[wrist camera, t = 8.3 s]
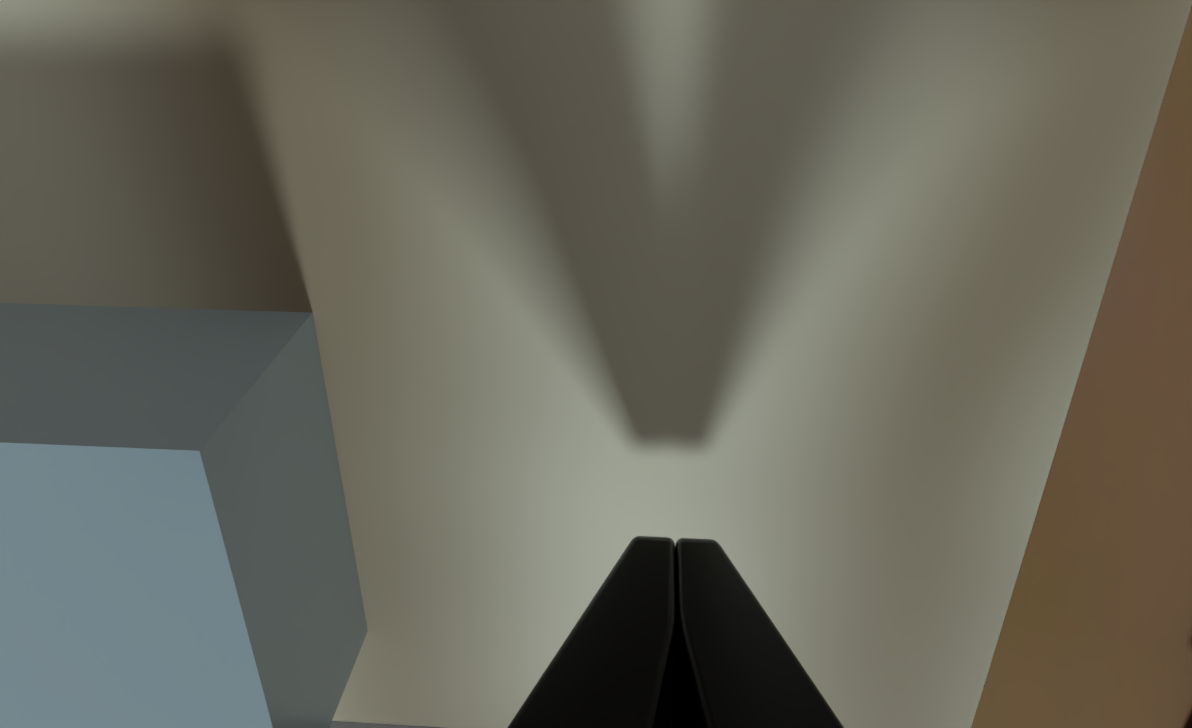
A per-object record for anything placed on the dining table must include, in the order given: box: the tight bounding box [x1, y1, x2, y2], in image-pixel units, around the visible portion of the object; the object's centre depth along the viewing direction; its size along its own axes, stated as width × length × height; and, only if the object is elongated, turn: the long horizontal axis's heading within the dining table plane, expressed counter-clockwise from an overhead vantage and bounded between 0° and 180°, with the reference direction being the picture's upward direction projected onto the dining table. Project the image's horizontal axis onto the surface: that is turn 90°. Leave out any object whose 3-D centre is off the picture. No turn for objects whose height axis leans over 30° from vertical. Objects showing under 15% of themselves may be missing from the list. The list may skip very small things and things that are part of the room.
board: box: [0, 0, 1192, 728], centre depth 9 cm, size 14×15×2 cm
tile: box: [0, 303, 368, 728], centre depth 9 cm, size 4×4×2 cm
